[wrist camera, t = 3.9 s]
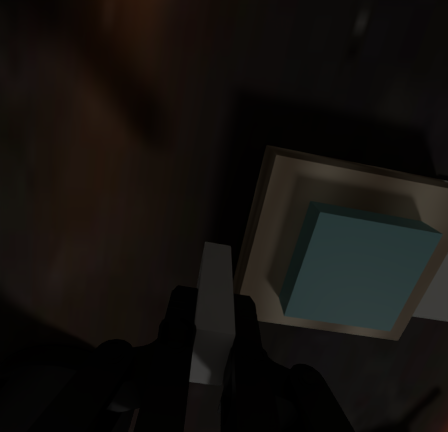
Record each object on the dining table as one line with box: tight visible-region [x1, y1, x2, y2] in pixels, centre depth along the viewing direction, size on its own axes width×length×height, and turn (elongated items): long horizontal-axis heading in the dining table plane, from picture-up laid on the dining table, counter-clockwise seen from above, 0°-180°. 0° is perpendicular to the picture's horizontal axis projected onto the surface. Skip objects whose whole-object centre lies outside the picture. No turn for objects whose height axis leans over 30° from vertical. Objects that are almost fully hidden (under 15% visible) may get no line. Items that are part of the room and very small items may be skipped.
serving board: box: [233, 145, 448, 341], centre depth 22 cm, size 14×13×4 cm
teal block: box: [279, 201, 443, 331], centre depth 20 cm, size 8×8×2 cm
